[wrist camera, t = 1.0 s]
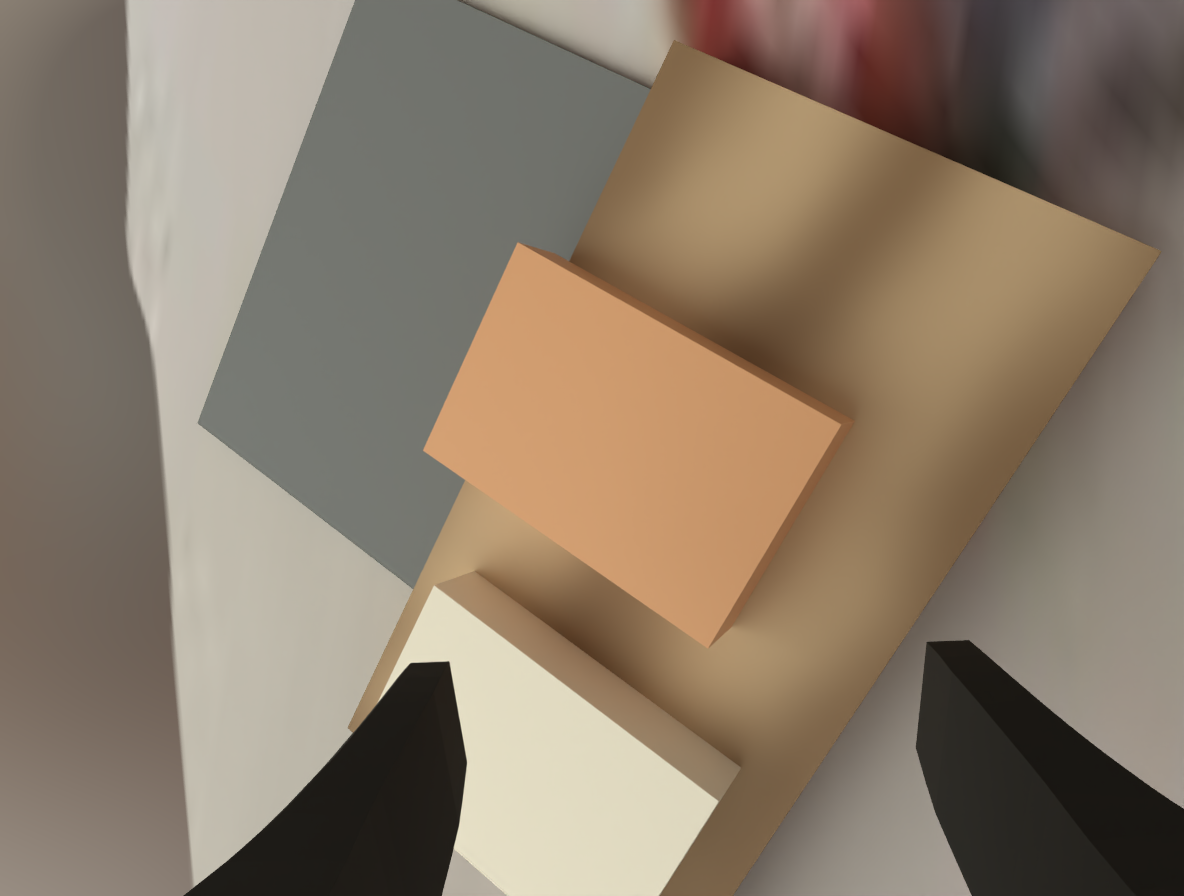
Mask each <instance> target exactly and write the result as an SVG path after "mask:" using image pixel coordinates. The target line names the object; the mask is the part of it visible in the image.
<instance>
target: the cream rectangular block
mask: <svg viewBox="0 0 1184 896" xmlns="http://www.w3.org/2000/svg"><path fill="white" fill-rule="evenodd" d="M445 661H449V662H450V668H451V673H452V679H453V685H454V690H455V696H456V702H457V707H458V713H459V719H460V724H461V730H462V736H463V741H464V747H465V753H466V758H467V769H466V777H465V785H464V793H463V801H462V808H461V815H460V823H459V828H458V832H457V836H456V841H455V845H454V849H455V850H456V851H457V852H458V853H459V854H461V855H462V856H463V857H464V858H465V859H466V860H467V861H469V862H470V863H471V864H472V865H473V866H474V867H475V868H476V869H478V870H479V871H480V872H481V873H482V874H483V875H484V876H486V877H487V878H488V879H489V880H490V881H491V882H492V883H493V884H495V885H496V886H497V887H498V888H499V889H500V890H501V891H503V892H504V893H505V894H506V895H507V896H660V895H661V893H662V891H663V890H664V888H665V887H666V885H667V884H668V882H669V880H670V879H671V877H672V876H673V874H674V873H675V871H676V869H677V868H678V866H679V865H680V863H681V862H682V860H683V858H684V857H685V855H686V854H687V852H688V851H689V849H690V847H691V846H692V844H693V843H694V841H695V840H696V838H697V836H698V835H699V833H700V832H701V830H702V829H703V827H704V825H705V824H706V822H707V821H708V819H709V818H710V816H711V814H712V813H713V811H714V810H715V808H716V807H717V805H718V803H719V802H720V800H721V799H722V797H723V796H724V794H725V792H726V791H727V789H728V788H729V786H730V785H731V783H732V781H733V780H734V778H735V777H736V775H737V774H738V772H739V770H740V769H741V767H740V766H738V765H737V764H736V763H734V762H733V761H732V760H730V759H729V758H727V757H726V756H725V755H723V754H722V753H721V752H719V751H718V750H717V749H715V748H714V747H713V746H711V745H710V744H708V743H707V742H706V741H704V740H703V739H702V738H700V737H699V736H698V735H696V734H695V733H694V732H692V731H691V730H689V729H688V728H687V727H685V726H684V725H683V724H681V723H680V722H679V721H677V720H676V719H675V718H673V717H672V716H670V715H669V714H668V713H666V712H665V711H664V710H662V709H661V708H660V707H658V706H657V705H656V704H654V703H653V702H651V701H650V700H649V699H647V698H646V697H645V696H643V695H642V694H641V693H639V692H638V691H637V690H635V689H634V688H632V687H631V686H630V685H628V684H627V683H626V682H624V681H623V680H622V679H620V678H619V677H618V676H616V675H615V674H613V673H612V672H611V671H609V670H608V669H607V668H605V667H604V666H603V665H601V664H600V663H599V662H597V661H596V660H594V659H593V658H592V657H590V656H589V655H588V654H586V653H585V652H584V651H582V650H581V649H580V648H578V647H577V646H575V645H574V644H573V643H571V642H570V641H569V640H567V639H566V638H565V637H563V636H562V635H561V634H559V633H558V632H556V631H555V630H554V629H552V628H551V627H550V626H548V625H547V624H546V623H544V622H543V621H542V620H540V619H539V618H537V617H536V616H535V615H533V614H532V613H531V612H529V611H528V610H527V609H525V608H524V607H523V606H521V605H520V604H518V603H517V602H516V601H514V600H513V599H512V598H510V597H509V596H508V595H506V594H505V593H504V592H502V591H501V590H499V589H498V588H497V587H495V586H494V585H493V584H491V583H490V582H489V581H487V580H486V579H485V578H483V577H482V576H480V575H479V574H478V573H476V572H475V571H473V572H470V573H467V574H464V575H461V576H459V577H456V578H453V579H450V580H447V581H445V582H442V583H439V584H436V585H434V586H433V588H432V591H431V593H430V595H429V597H428V599H427V601H426V603H425V605H424V607H423V609H422V611H421V613H420V615H419V618H418V620H417V622H416V624H415V626H414V628H413V630H412V632H411V634H410V636H409V638H408V640H407V642H406V645H405V647H404V649H403V651H402V653H401V655H400V657H399V659H398V661H397V663H396V665H395V667H394V669H393V672H392V674H391V676H390V678H389V680H388V682H387V684H386V686H385V688H384V690H383V692H382V694H381V696H380V699H381V698H382V697H383V696H384V694H385V693H386V692H387V691H388V689H389V688H390V687H391V685H392V684H393V683H394V682H395V680H396V679H397V678H398V677H399V675H400V674H401V673H402V672H403V670H404V669H405V668H406V667H407V666H408V665H409V664H410V663H420V662H445ZM380 699H379V701H380ZM379 701H378V702H379Z"/></svg>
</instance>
